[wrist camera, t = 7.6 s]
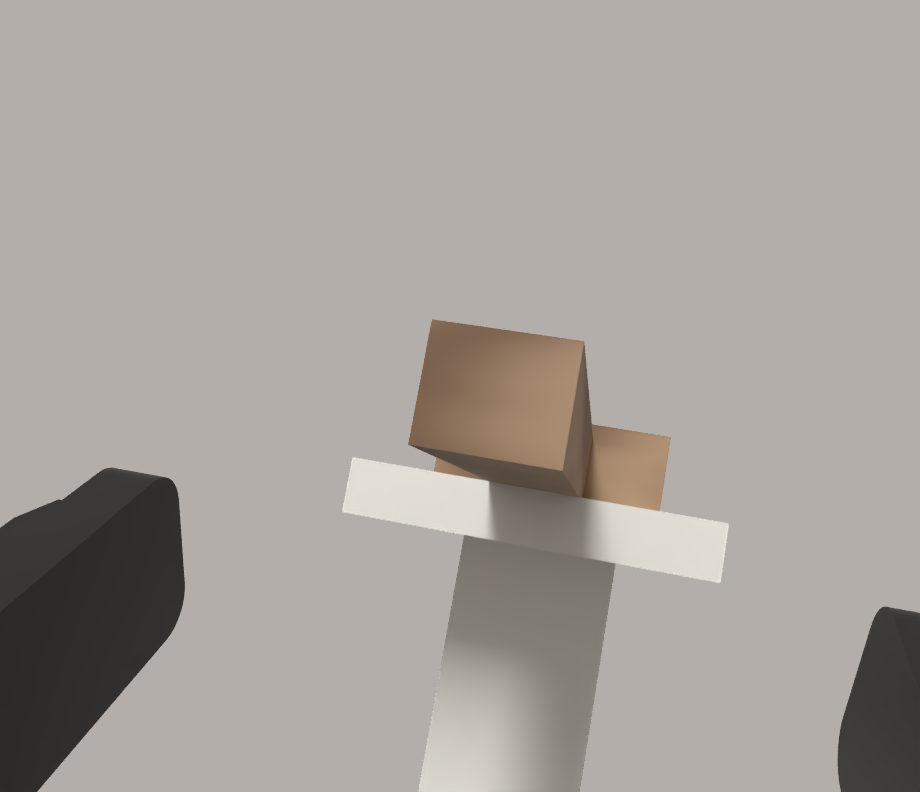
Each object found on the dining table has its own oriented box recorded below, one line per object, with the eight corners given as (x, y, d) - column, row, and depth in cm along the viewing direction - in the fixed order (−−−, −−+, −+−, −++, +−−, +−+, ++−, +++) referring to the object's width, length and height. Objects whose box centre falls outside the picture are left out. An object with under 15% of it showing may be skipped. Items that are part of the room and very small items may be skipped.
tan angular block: (269, 420, 14) (300, 276, 14) (462, 485, 34) (473, 423, 34) (720, 498, 13) (743, 338, 13) (648, 518, 32) (658, 454, 33)
